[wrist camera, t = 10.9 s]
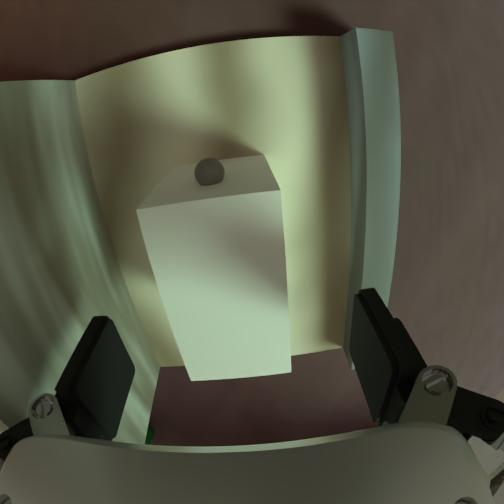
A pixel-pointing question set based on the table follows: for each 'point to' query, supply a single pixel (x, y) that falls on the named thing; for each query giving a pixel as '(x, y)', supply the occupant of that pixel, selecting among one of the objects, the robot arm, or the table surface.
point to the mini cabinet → (221, 266)
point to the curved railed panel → (183, 153)
